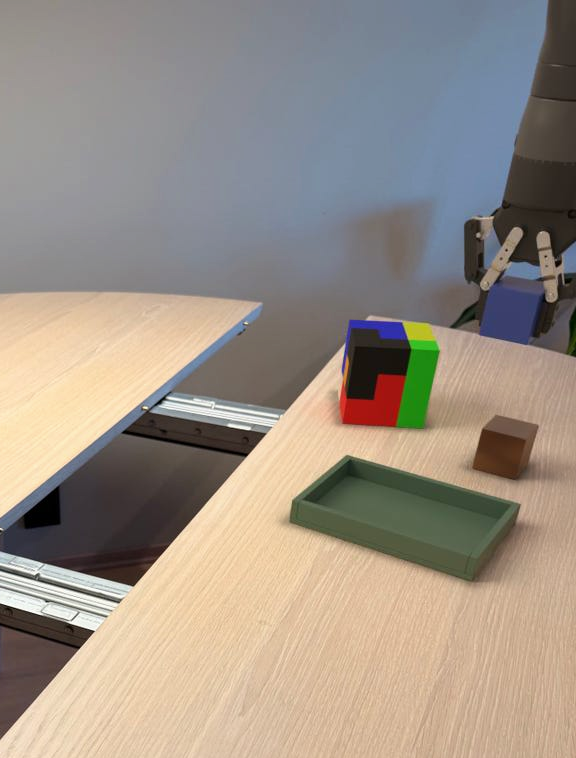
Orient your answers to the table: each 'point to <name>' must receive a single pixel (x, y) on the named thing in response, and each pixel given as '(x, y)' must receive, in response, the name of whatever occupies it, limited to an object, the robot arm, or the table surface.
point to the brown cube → (505, 446)
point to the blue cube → (512, 309)
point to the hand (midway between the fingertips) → (511, 329)
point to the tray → (406, 515)
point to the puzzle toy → (387, 373)
